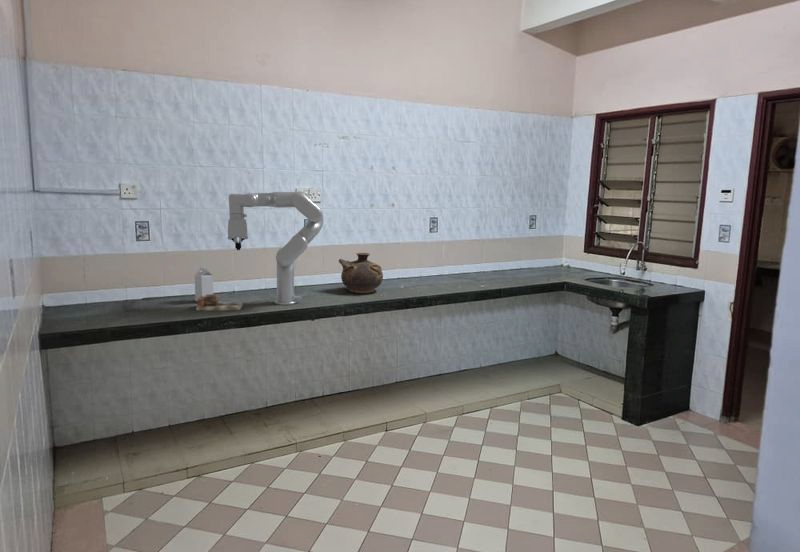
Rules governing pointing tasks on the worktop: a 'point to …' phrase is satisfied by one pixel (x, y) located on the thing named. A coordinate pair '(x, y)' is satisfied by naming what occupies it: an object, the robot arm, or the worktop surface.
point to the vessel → (361, 274)
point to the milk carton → (203, 283)
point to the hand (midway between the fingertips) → (238, 249)
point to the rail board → (219, 305)
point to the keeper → (211, 299)
